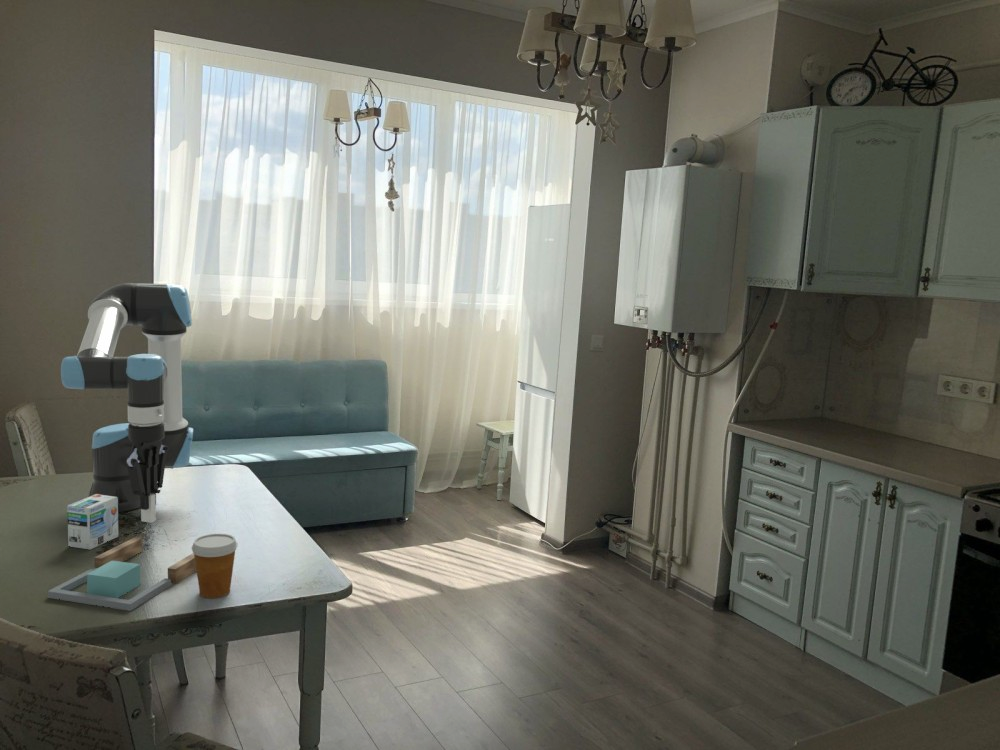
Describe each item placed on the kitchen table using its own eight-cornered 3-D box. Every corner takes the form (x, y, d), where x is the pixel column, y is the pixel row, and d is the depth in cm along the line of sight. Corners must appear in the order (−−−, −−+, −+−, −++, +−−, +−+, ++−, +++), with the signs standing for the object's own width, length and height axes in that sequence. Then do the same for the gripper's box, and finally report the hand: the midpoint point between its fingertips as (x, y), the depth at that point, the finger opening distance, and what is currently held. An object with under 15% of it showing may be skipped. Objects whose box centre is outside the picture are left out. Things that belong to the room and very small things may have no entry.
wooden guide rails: (135, 550, 194) (135, 537, 194) (211, 561, 190) (211, 547, 189) (94, 571, 181) (94, 557, 180) (175, 584, 176) (175, 569, 176)
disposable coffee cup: (192, 604, 167) (192, 550, 165) (191, 586, 176) (190, 535, 174) (239, 598, 171) (239, 545, 169) (235, 581, 179) (235, 531, 178)
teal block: (112, 581, 177) (111, 560, 176) (140, 585, 175) (139, 564, 175) (87, 596, 169) (86, 574, 168) (116, 600, 168) (115, 578, 167)
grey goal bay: (93, 573, 180) (93, 567, 179) (171, 585, 176) (170, 579, 175) (48, 597, 167) (47, 591, 166) (130, 611, 162) (130, 604, 162)
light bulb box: (90, 550, 193) (89, 508, 192) (67, 547, 195) (65, 505, 193) (119, 536, 204) (119, 496, 202) (97, 533, 205) (96, 493, 203)
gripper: (141, 430, 171) (144, 532, 175) (178, 418, 184) (180, 513, 188) (112, 427, 173) (115, 528, 177) (150, 414, 185) (152, 509, 189)
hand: (148, 520), depth 182 cm, fingers closed
